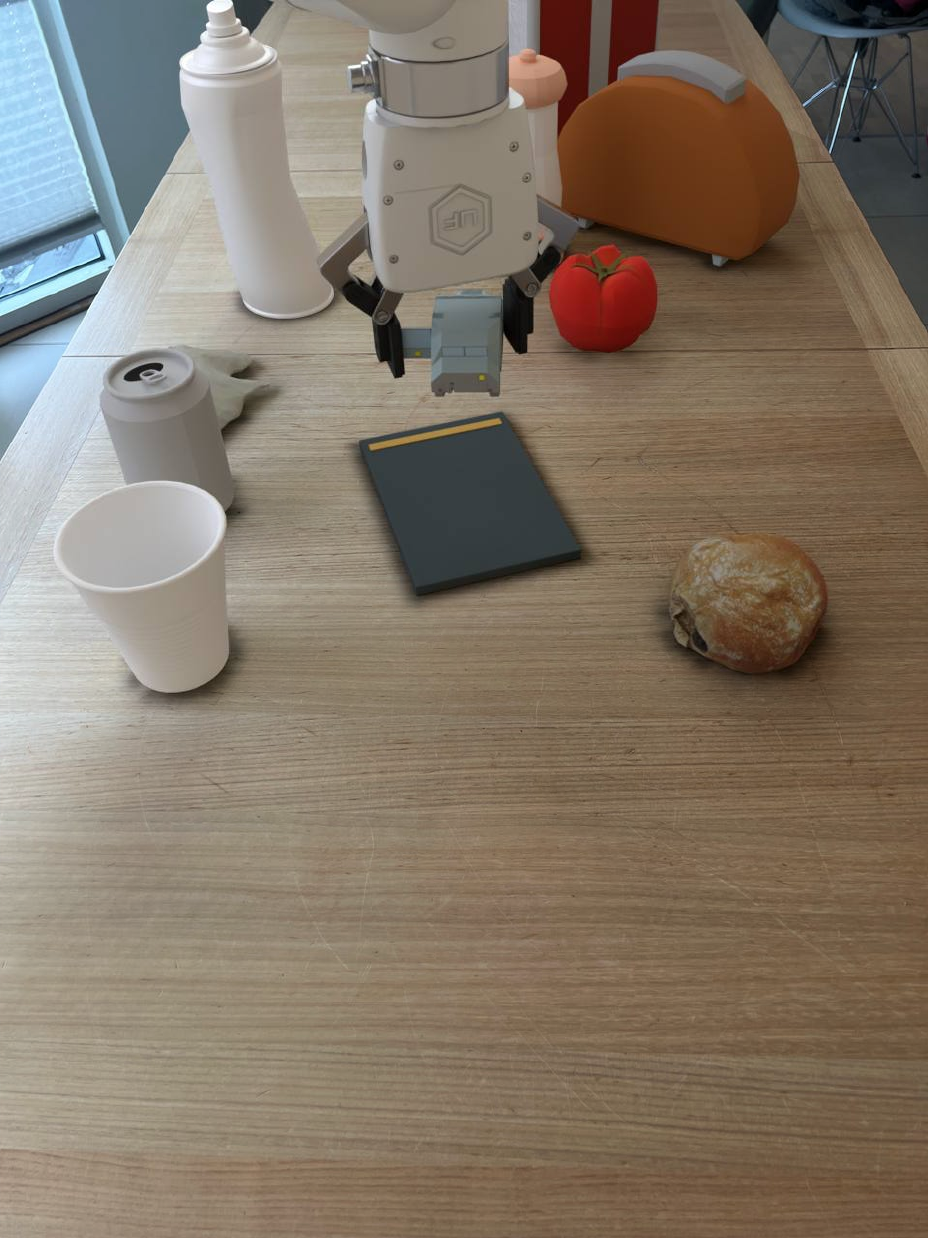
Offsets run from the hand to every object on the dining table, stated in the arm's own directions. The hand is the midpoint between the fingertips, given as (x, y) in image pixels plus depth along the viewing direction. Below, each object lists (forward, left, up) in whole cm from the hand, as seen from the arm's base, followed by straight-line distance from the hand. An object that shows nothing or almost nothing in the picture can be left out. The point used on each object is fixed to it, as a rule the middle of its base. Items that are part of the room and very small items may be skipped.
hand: (455, 354), depth 71 cm
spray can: (-8, +37, -13) cm, 40 cm away
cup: (-22, -10, -13) cm, 27 cm away
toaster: (+32, +35, -13) cm, 49 cm away
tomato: (+18, +18, -13) cm, 28 cm away
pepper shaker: (+17, +35, -13) cm, 41 cm away
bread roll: (+14, -18, -13) cm, 26 cm away
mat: (0, 0, -12) cm, 12 cm away
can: (-20, +6, -13) cm, 24 cm away
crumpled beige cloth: (-18, +19, -13) cm, 29 cm away
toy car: (0, 0, -1) cm, 1 cm away
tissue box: (+29, +61, -13) cm, 69 cm away
